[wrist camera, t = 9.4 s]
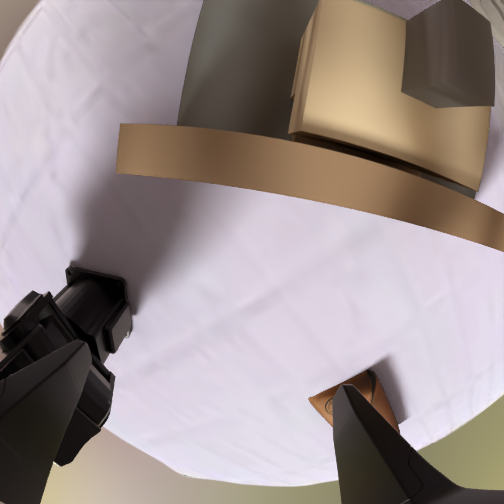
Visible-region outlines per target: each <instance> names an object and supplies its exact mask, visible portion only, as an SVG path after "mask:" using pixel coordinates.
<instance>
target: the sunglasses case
mask: <svg viewBox="0 0 504 504" xmlns="http://www.w3.org/2000/svg"><path fill="white" fill-rule="evenodd" d="M342 384H352V385H354V386H355V387H356V389H357V390H358V391H359V392H360V393H361V394H362V395H363V396H364V397H365V398H366V399H367V400H368V401H369V402H370V403H371V404H372V406H373V407H374V408H375V409H376V410H377V411H378V412H379V413H380V414H381V415H382V416H383V417H384V418H385V419H386V420H387V421H388V422H389V423H390V424H391V425H392V427H393V428H394V429H395V430H396V431H397V432H398V433H399V434H400V430H399V427H398V424H397V421H396V419H395V416H394V414H393V412H392V409H391V407H390V404H389V402H388V399H387V397H386V395H385V392H384V390H383V388H382V386H381V383H380V382H379V379H378V378H377V376H376V374H375V373H374V372H372V371H369V370H366V371H364V372H363V373H361V374H359V375H357V376H355V377H353V378H351V379H349V380H347V381H345V382H343V383H340V384H338V385H336V386H334V387H332V388H330V389H328V390H325V391H323V392H321V393H319V394H317V395H315V396H313V397H310V398H308V400H309V401H310V403H311V404H312V405H313V407H314V408H315V409H316V410H317V411H318V412H319V413H320V414H321V415H322V417H324V418H325V419H326V421H327V422H328V423H329V424H330V425H331V426H332V427H333V414H332V400H333V398H334V396H335V394H336V392H337V391H338V389H339V387H340V386H341V385H342Z"/></svg>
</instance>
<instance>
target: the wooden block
mask: <svg viewBox="0 0 504 504" xmlns="http://www.w3.org/2000/svg"><path fill="white" fill-rule="evenodd" d="M291 99H294V102H293V108H292V113H291V119H290V124H289V130H288V134H291V135H296V136H301V137H305V138H310V139H314V140H318V141H322V142H327V143H331V144H334V145H338V146H342V147H346V148H349V149H353V150H356V151H360V152H363V153H367V154H370V155H373V156H376V157H380V158H383V159H386V160H389V161H392V162H395V163H398V164H400V165H403V166H406V167H409V168H412V169H414V170H417V171H420V172H422V173H425V174H427V175H430V176H433V177H436V178H439V179H442V180H445V181H448V182H452V183H455V184H457V185H460V186H463V187H466V188H469V189H472V190H474V191H477V192H478V190H479V185H480V181H481V176H482V171H483V166H484V160H485V154H486V148H487V141H488V133H489V124H490V112H491V106H494V100H495V65H494V49H493V38H492V30H491V23H490V21H489V20H488V19H486V18H485V17H484V16H483V15H481V14H480V13H479V12H477V11H476V10H475V9H474V8H472V7H471V6H469V5H468V4H467V3H465V2H464V1H462V0H441V1H439V2H437V3H436V4H434V5H432V6H431V7H429V8H427V9H426V10H424V11H422V12H421V13H419V14H418V15H416V16H415V17H413V18H411V19H410V20H406V19H404V18H402V17H399V16H397V15H395V14H393V13H390V12H388V11H386V10H383V9H381V8H378V7H376V6H373V5H371V4H368V3H365V2H363V1H360V0H319V2H318V4H317V7H316V9H315V11H314V13H313V15H312V17H311V19H310V21H309V23H308V26H307V28H306V30H305V32H304V34H303V36H302V39H301V42H300V48H299V54H298V60H297V65H296V71H295V77H294V82H293V88H292V94H291Z"/></svg>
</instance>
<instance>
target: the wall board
mask: <svg viewBox="0 0 504 504" xmlns="http://www.w3.org/2000/svg"><path fill="white" fill-rule="evenodd" d="M318 2H319V0H204V1H203V5H202V8H201V12H200V15H199V19H198V23H197V27H196V31H195V35H194V39H193V43H192V47H191V52H190V56H189V61H188V66H187V70H186V75H185V81H184V86H183V91H182V97H181V103H180V109H179V115H178V121H177V126H173V125H155V124H120V131H119V140H118V150H117V162H116V173H120V174H132V175H143V176H153V177H163V178H172V179H180V180H189V181H197V182H204V183H212V184H219V185H226V186H232V187H239V188H245V189H252V190H258V191H264V192H270V193H275V194H281V195H286V196H292V197H297V198H302V199H307V200H313V201H318V202H322V203H327V204H332V205H337V206H341V207H346V208H350V209H355V210H359V211H363V212H368V213H372V214H376V215H380V216H384V217H388V218H392V219H396V220H400V221H404V222H408V223H411V224H415V225H419V226H422V227H426V228H430V229H433V230H437V231H440V232H443V233H447V234H450V235H453V236H457V237H460V238H463V239H466V240H470V241H473V242H476V243H479V244H482V245H485V246H488V247H491V248H494V249H497V250H500V251H502V252H504V214H503V213H501V212H499V211H497V210H495V209H493V208H491V207H489V206H487V205H485V204H483V203H481V202H479V201H476V200H474V198H475V194H476V191H474V190H472V189H469V188H466V187H463V186H460V185H457V184H455V183H452V182H448V181H445V180H442V179H439V178H436V177H433V176H430V175H427V174H425V173H422V172H420V171H417V170H414V169H412V168H409V167H406V166H403V165H400V164H398V163H395V162H392V161H389V160H386V159H383V158H380V157H376V156H373V155H370V154H367V153H363V152H360V151H356V150H353V149H349V148H346V147H342V146H338V145H334V144H331V143H327V142H322V141H318V140H314V139H310V138H305V137H301V136H296V135H291V134H288V130H289V124H290V119H291V113H292V108H293V102H294V99H291V94H292V88H293V82H294V77H295V71H296V65H297V60H298V54H299V48H300V42H301V39H302V36H303V34H304V32H305V30H306V28H307V26H308V23H309V21H310V19H311V17H312V15H313V13H314V11H315V9H316V7H317V4H318Z"/></svg>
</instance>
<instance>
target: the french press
mask: <svg viewBox="0 0 504 504" xmlns="http://www.w3.org/2000/svg"><path fill="white" fill-rule="evenodd" d="M470 2H471V4H472V6H473V8H474V9H475V10H476V11H477V12H479V13H480V14H481V15H483V16H484V17H485V18H486V19H488V20H489V21H490V23H491V30H492V36H493V37H494V38H495V39H496V40H497V41H498V42H499V43H500V44H501V45H502V46H503V47H504V0H470Z"/></svg>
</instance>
